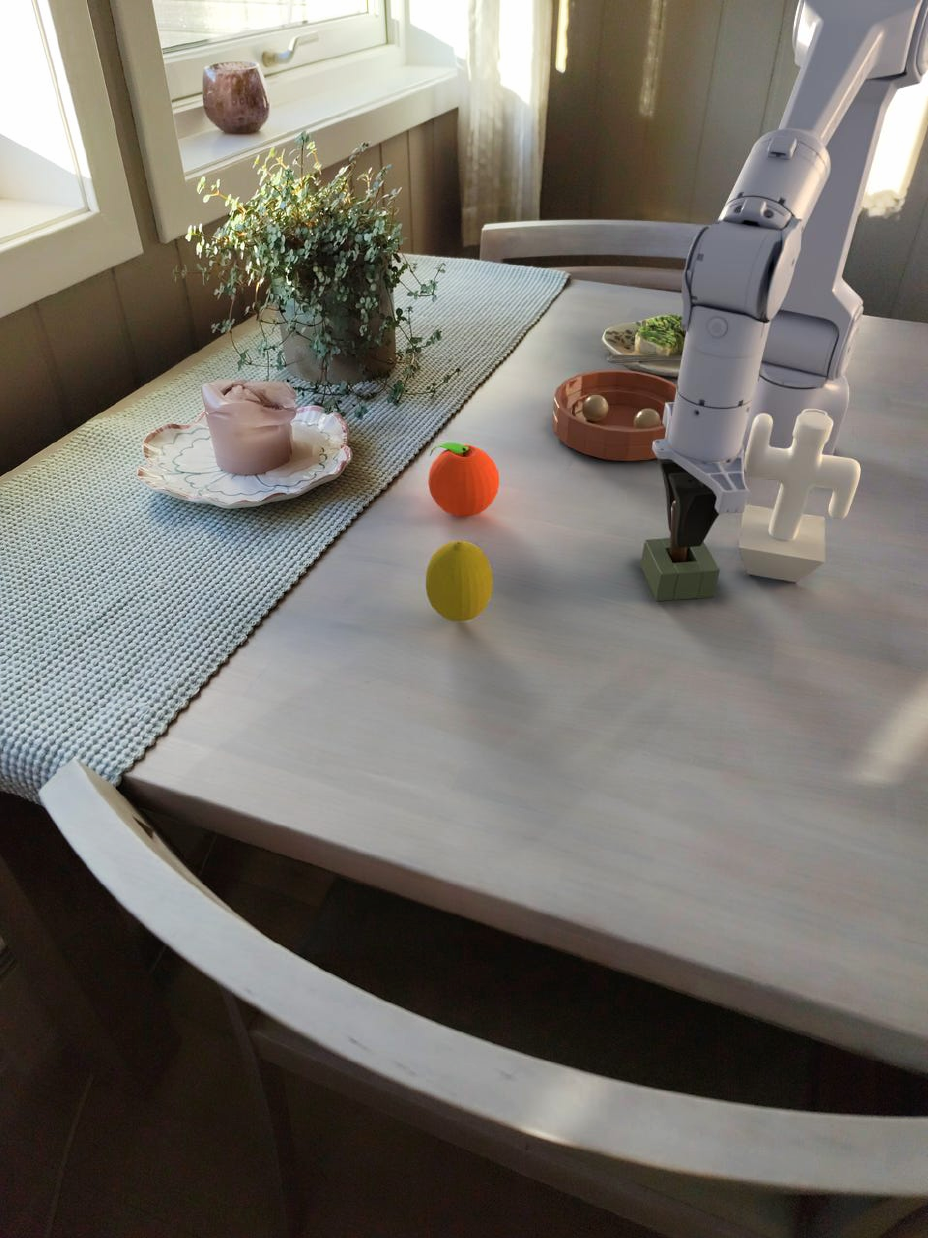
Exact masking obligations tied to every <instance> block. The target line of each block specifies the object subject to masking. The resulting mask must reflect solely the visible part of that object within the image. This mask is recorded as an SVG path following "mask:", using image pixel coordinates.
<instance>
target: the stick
mask: <svg viewBox="0 0 928 1238" xmlns="http://www.w3.org/2000/svg"><path fill="white" fill-rule="evenodd" d="M675 519H676V506H675V500H674V501H673V503H672V506H671V533H670V534H669V535H670V537H669V538H670V559H671V561H672V563H680V562H686V549H687V547H683V548H679V547H678V546H677V544H676V540H675Z"/></svg>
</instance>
